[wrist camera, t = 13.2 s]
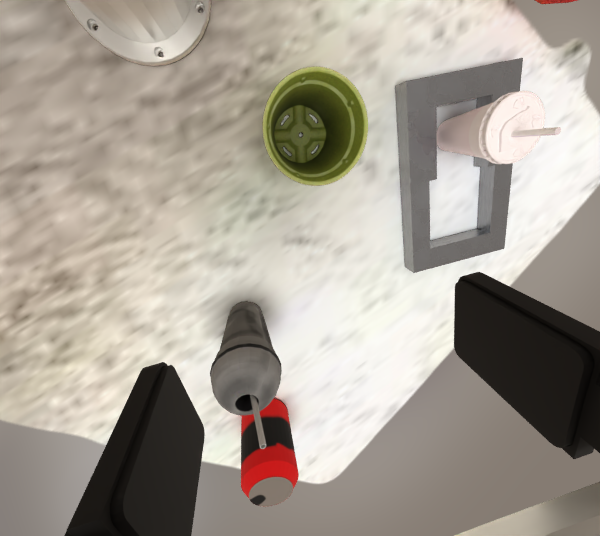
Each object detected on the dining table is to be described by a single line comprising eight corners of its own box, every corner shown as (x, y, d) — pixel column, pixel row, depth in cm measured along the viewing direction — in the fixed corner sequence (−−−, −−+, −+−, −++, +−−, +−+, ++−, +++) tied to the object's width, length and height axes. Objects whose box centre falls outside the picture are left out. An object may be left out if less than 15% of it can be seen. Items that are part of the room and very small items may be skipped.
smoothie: (415, 144, 36) (512, 139, 23) (447, 94, 34) (570, 58, 21) (450, 171, 38) (556, 180, 25) (481, 125, 36) (611, 109, 23)
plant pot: (305, 194, 35) (322, 206, 27) (241, 141, 32) (240, 137, 24) (354, 130, 34) (388, 123, 26) (292, 67, 30) (310, 36, 22)
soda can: (231, 414, 46) (228, 495, 35) (269, 388, 46) (278, 462, 35) (259, 437, 49) (264, 518, 38) (295, 413, 49) (311, 489, 38)
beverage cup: (212, 299, 38) (183, 432, 20) (265, 286, 39) (285, 404, 21) (226, 342, 41) (213, 494, 23) (276, 330, 42) (301, 467, 24)
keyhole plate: (395, 86, 33) (406, 81, 31) (504, 63, 34) (522, 57, 32) (404, 266, 42) (413, 272, 40) (490, 243, 43) (504, 248, 41)
